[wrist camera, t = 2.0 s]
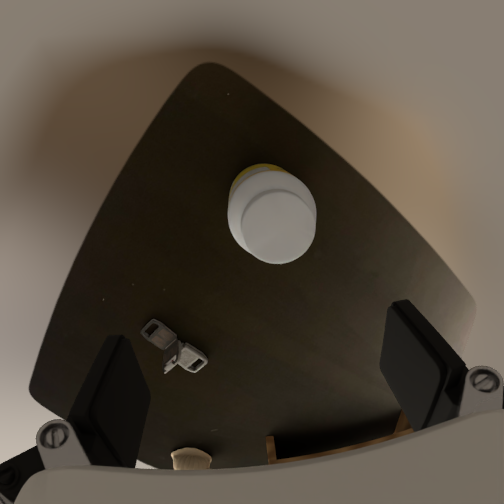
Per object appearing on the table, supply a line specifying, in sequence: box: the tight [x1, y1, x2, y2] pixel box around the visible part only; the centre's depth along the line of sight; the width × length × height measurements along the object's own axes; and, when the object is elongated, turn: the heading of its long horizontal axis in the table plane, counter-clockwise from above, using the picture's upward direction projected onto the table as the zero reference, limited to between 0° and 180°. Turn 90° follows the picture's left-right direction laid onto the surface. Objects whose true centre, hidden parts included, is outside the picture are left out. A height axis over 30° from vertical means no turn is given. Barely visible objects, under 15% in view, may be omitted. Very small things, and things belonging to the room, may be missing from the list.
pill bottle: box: [228, 163, 316, 264], centre depth 25 cm, size 6×6×12 cm
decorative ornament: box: [171, 447, 212, 470], centre depth 42 cm, size 4×8×5 cm, turn 77°
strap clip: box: [141, 319, 208, 373], centre depth 34 cm, size 8×3×4 cm, turn 45°
